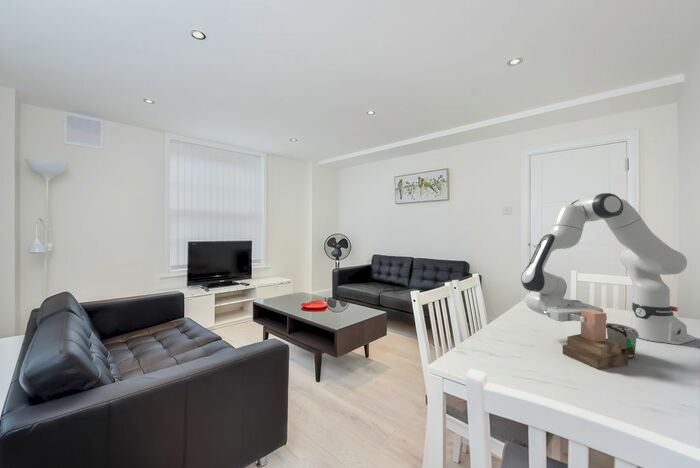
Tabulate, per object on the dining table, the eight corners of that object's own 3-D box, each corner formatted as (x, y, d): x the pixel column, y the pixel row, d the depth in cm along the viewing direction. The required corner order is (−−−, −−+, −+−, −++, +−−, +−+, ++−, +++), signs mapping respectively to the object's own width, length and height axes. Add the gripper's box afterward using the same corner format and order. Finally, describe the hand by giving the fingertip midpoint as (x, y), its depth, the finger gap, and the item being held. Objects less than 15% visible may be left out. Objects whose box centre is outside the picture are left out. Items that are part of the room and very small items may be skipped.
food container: (648, 362, 104) (648, 334, 104) (628, 360, 105) (628, 333, 105) (623, 348, 116) (623, 323, 116) (605, 347, 118) (605, 322, 117)
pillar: (592, 335, 110) (592, 309, 110) (605, 340, 105) (606, 313, 105) (580, 336, 109) (581, 310, 109) (594, 342, 104) (594, 313, 104)
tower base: (590, 352, 115) (590, 341, 115) (627, 367, 102) (627, 355, 102) (562, 355, 112) (562, 345, 112) (597, 371, 99) (597, 359, 99)
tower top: (586, 343, 114) (586, 332, 114) (621, 353, 103) (621, 342, 103) (567, 347, 110) (567, 336, 110) (601, 358, 100) (600, 347, 100)
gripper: (539, 303, 118) (570, 312, 104) (582, 300, 121) (618, 308, 108) (539, 318, 118) (571, 330, 104) (582, 315, 121) (618, 325, 108)
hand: (595, 319), depth 106 cm, fingers open, 7 cm apart
